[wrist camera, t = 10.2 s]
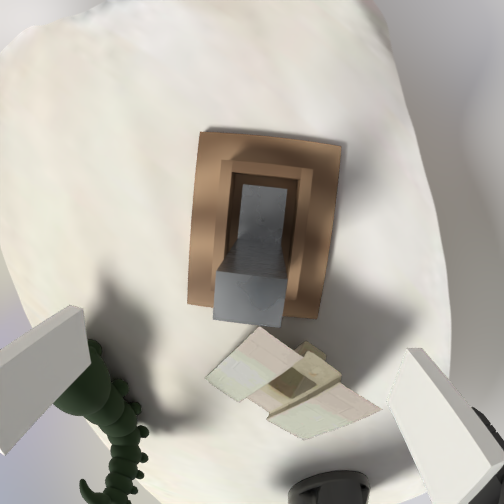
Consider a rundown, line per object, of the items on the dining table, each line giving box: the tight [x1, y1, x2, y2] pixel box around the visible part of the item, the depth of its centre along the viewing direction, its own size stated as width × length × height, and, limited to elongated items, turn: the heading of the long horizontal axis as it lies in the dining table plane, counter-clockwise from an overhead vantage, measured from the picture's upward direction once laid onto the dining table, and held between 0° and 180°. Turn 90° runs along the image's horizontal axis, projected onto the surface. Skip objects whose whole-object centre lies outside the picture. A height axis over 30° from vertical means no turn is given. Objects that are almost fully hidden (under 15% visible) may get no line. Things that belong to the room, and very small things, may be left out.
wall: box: [205, 326, 382, 440], centre depth 30 cm, size 16×9×15 cm
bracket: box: [213, 184, 288, 328], centre depth 22 cm, size 8×4×13 cm, turn 174°
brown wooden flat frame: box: [187, 132, 341, 319], centre depth 28 cm, size 18×14×4 cm
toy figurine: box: [53, 339, 149, 504], centre depth 27 cm, size 9×19×25 cm
